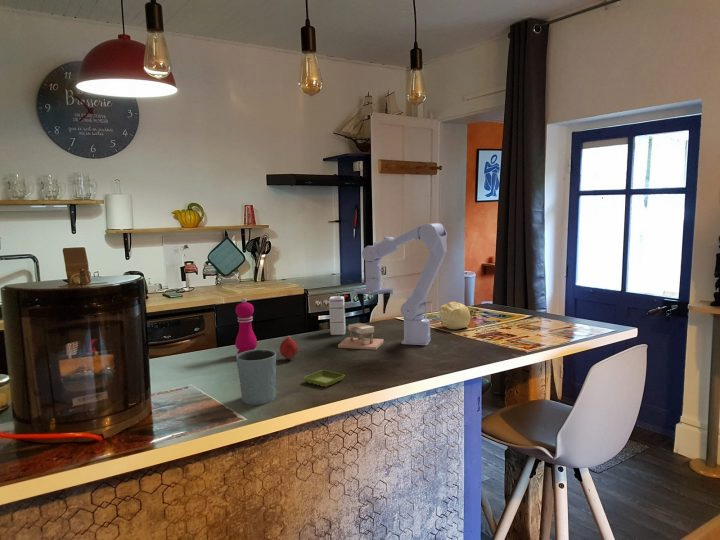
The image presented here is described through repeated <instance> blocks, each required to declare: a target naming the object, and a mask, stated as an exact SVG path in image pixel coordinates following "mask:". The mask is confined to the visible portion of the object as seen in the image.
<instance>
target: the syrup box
mask: <svg viewBox="0 0 720 540" xmlns="http://www.w3.org/2000/svg"><path fill="white" fill-rule="evenodd" d="M328 303H329V304H328V305H329V307H328V308H329V326H330V327H329V328H330V335H331V336H342V335H343V336H344V335H345V334H346V330H347V329H346V328H347V326H346V310H345V309H346V308H345V304H346V303H345V296H344V295H336V296H335V295H334V296H330V297H329V299H328Z"/></svg>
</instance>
